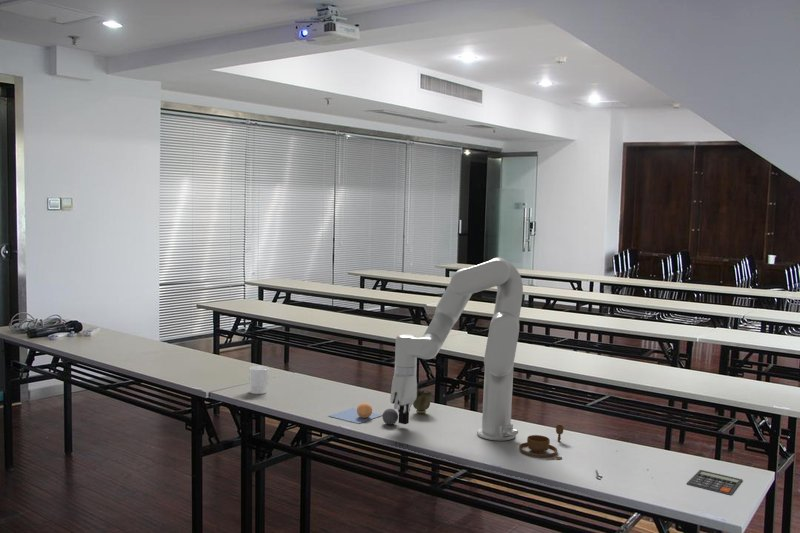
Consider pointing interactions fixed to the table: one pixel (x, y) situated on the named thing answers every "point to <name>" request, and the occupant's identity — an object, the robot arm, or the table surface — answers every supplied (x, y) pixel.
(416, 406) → the brown round vessel
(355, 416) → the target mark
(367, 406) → the orange ball
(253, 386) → the white cup
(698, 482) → the calculator
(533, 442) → the place setting
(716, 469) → the table surface
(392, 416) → the gray ball
